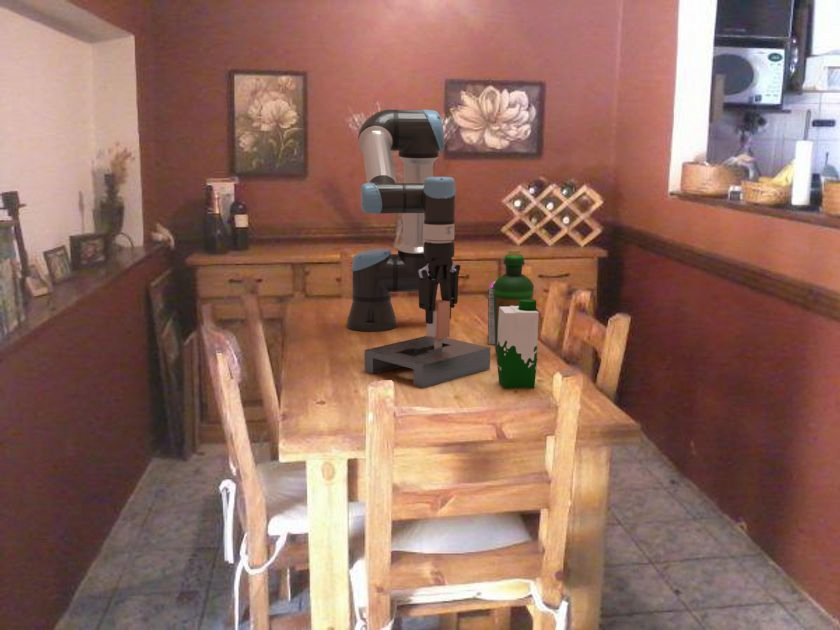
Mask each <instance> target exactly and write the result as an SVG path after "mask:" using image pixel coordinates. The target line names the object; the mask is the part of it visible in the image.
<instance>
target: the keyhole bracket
mask: <svg viewBox="0 0 840 630" xmlns="http://www.w3.org/2000/svg"><path fill="white" fill-rule="evenodd" d="M401 367H404V368H409V369H412V370H413V386H414V387H416V388H420V389H424V388H429V387H432V386H435V385H439V384H442V383H446V382H449V381H453V380H457V379H460V378H462V377H466V376H471V375H474V374H476V373H480V372H483V371H487V370H490V369H491V346H486V345H480V344H476V343H473V342H472V343H471V342H468V341H463V340H458V339H455V338H454V339H453V338H451V337H450V338H449V337H447V338H443V339H442V348H437V349H434V338H430V337H427V335H425V336H421V337H420V336H419V337H416V338H415V337H414V338H411V339H406V340H402V341H398V342H394V343H389V344H385V345H380V346H376V347H371V348H368V349H364V372H365V373H367V374H368V373H369V374H371V375H374V374H378V373H381V372H386V371H389V370H394V369H398V368H401Z"/></svg>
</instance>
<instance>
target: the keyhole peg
mask: <svg viewBox="0 0 840 630" xmlns="http://www.w3.org/2000/svg"><path fill="white" fill-rule="evenodd" d="M429 305H430V304H429ZM434 310H435V311H437V337H432V336H427V335H426V336H427V337H430V338H434V349H437V348H442V339H443V338H449V337H450V338H451V336H450V334H451V333H450V329H451V328H450V327H451V324H450V322H451V319H450V301H445V300H442V299H438V298H436V302H435V309H434Z"/></svg>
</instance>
